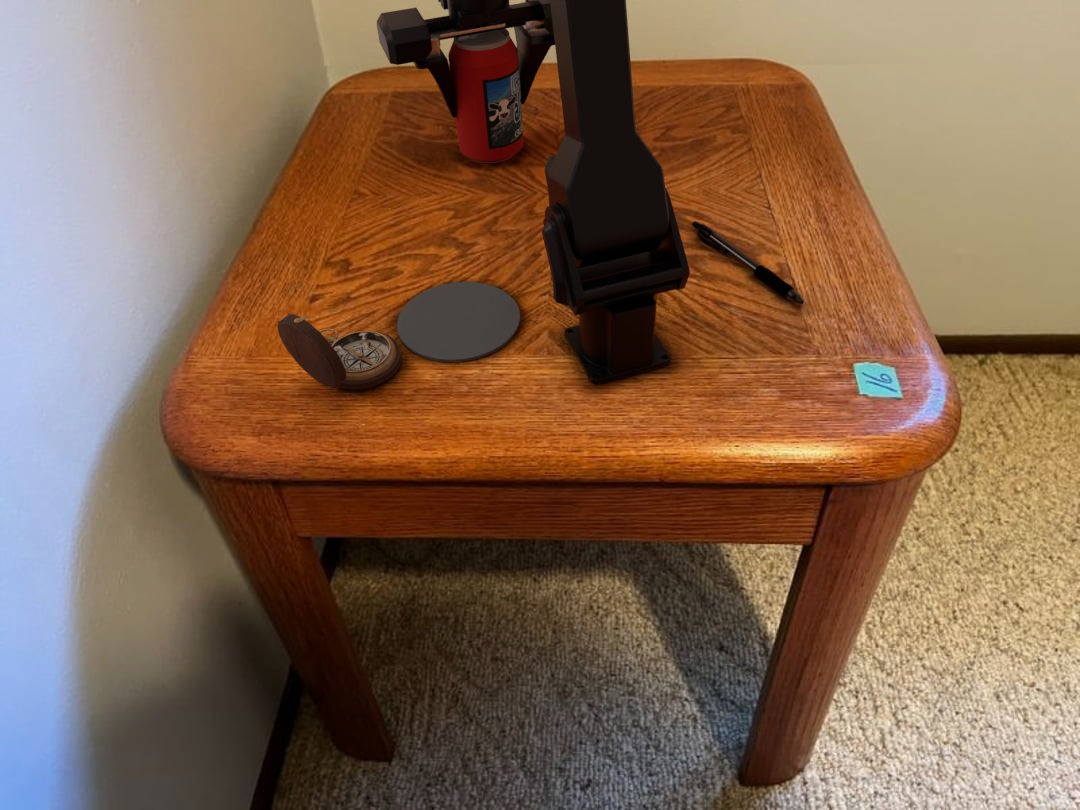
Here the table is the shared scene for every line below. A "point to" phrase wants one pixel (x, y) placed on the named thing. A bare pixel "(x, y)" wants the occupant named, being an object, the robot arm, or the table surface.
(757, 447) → the table surface
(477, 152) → the beverage can
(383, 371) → the compass
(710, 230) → the pen
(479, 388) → the table surface
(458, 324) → the felt coaster
